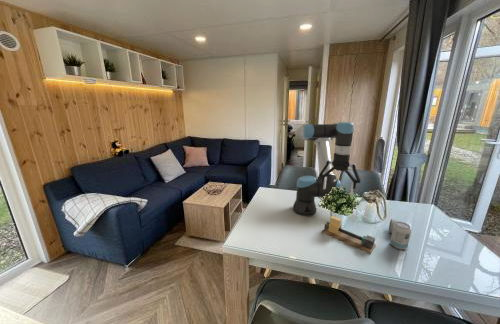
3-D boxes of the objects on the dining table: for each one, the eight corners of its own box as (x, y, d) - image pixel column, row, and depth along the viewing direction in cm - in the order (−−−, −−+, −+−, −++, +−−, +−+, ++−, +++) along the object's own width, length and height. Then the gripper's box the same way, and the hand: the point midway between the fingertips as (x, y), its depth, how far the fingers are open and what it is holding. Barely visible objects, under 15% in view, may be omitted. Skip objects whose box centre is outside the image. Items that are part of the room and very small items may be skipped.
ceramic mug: (407, 240, 105) (410, 227, 103) (388, 235, 109) (390, 222, 107) (405, 230, 113) (408, 217, 111) (388, 225, 117) (390, 213, 116)
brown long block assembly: (322, 232, 112) (322, 223, 110) (328, 226, 117) (329, 218, 116) (370, 254, 95) (372, 244, 94) (375, 246, 101) (377, 236, 99)
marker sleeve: (328, 230, 111) (329, 218, 109) (331, 227, 114) (333, 215, 112) (337, 234, 107) (338, 221, 105) (340, 231, 110) (342, 218, 108)
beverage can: (405, 243, 102) (409, 222, 99) (408, 252, 96) (414, 230, 93) (388, 240, 105) (392, 219, 102) (391, 248, 99) (395, 227, 96)
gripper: (315, 151, 107) (312, 188, 113) (369, 158, 93) (362, 199, 100) (319, 148, 113) (316, 184, 119) (370, 154, 99) (364, 193, 106)
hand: (337, 191), depth 109 cm, fingers open, 13 cm apart
